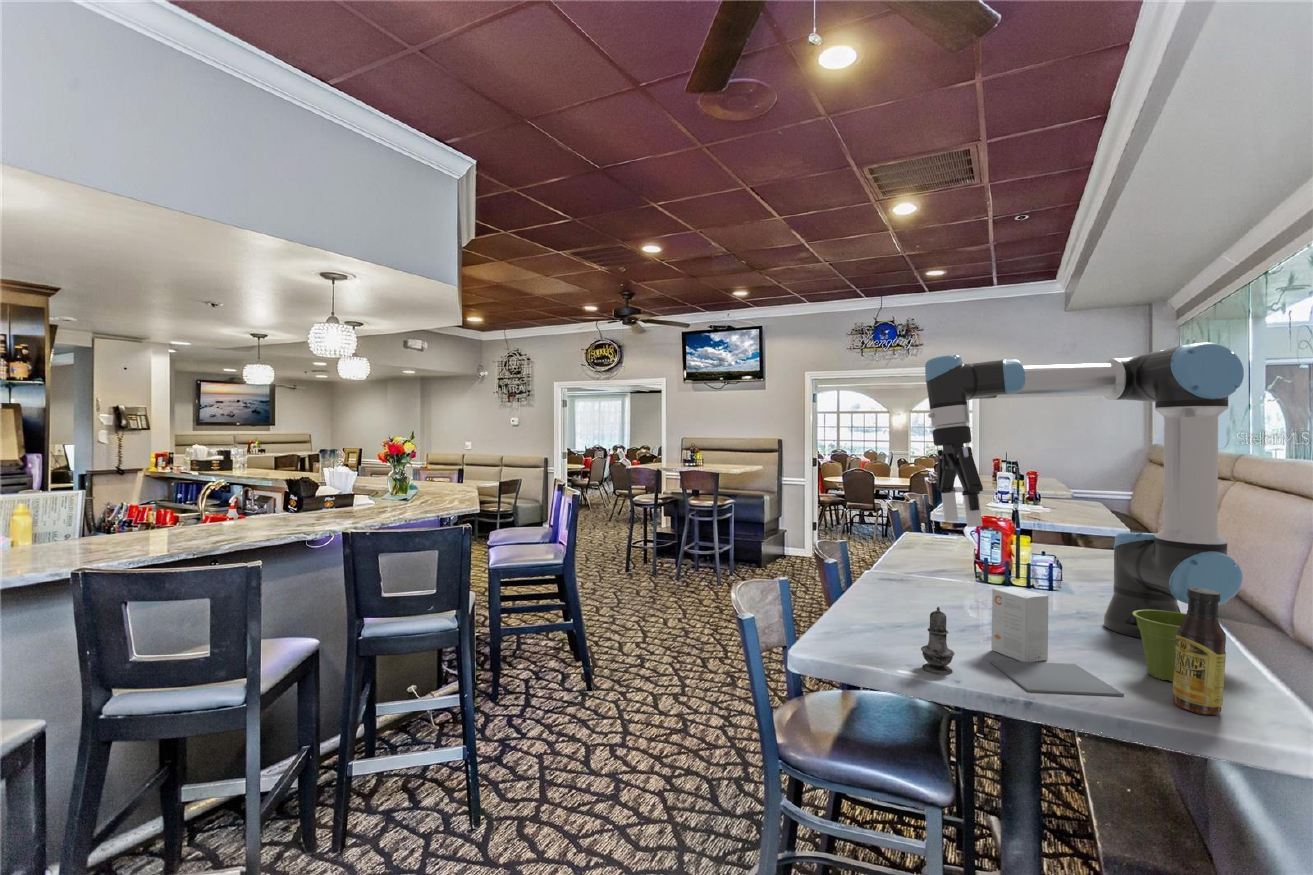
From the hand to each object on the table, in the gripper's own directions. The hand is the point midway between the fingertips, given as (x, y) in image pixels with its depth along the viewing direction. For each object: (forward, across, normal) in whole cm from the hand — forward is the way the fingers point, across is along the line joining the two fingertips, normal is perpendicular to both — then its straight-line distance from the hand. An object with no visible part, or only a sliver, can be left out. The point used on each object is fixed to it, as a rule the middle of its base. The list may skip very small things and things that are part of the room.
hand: (962, 523), depth 133 cm
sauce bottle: (+30, +27, +24) cm, 47 cm away
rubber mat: (+28, +17, +7) cm, 33 cm away
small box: (+27, +5, +6) cm, 28 cm away
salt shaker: (+26, +16, -13) cm, 33 cm away
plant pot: (+30, +13, +29) cm, 44 cm away
